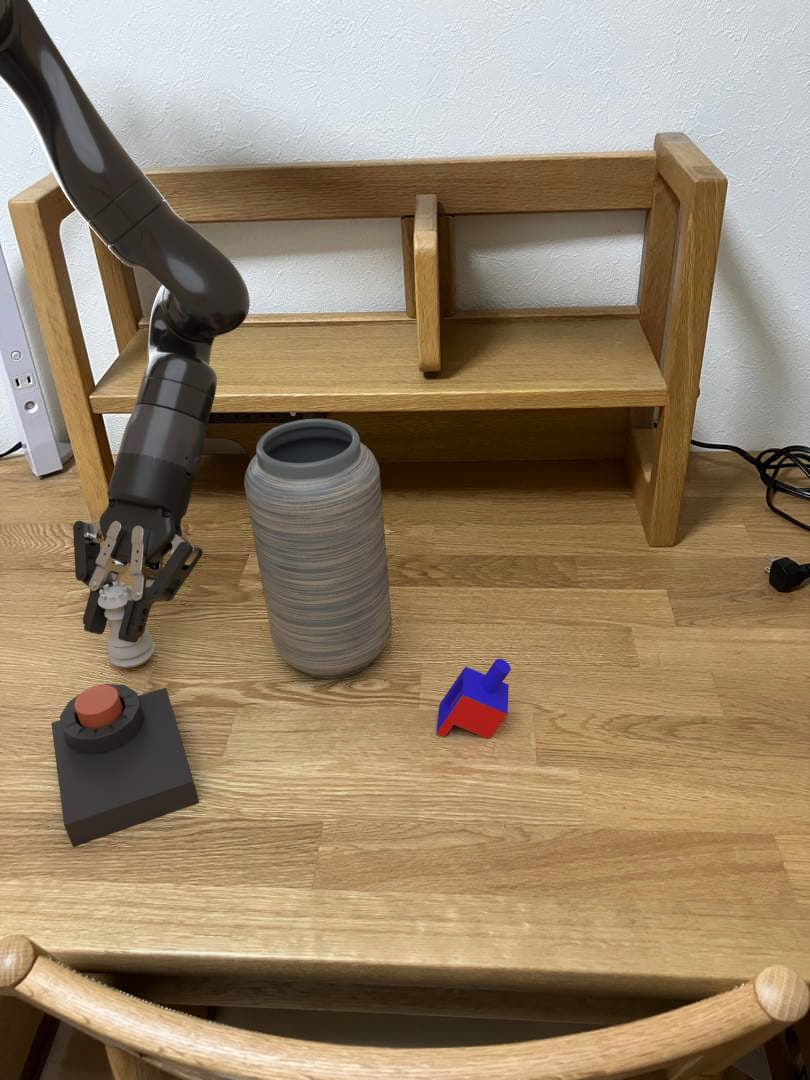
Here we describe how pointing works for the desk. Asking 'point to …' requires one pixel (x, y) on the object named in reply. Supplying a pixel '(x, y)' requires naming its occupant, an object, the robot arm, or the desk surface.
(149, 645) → the rook chess piece
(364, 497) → the vase
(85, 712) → the button
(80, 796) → the button box
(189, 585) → the desk surface
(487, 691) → the toy building block
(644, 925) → the desk surface
